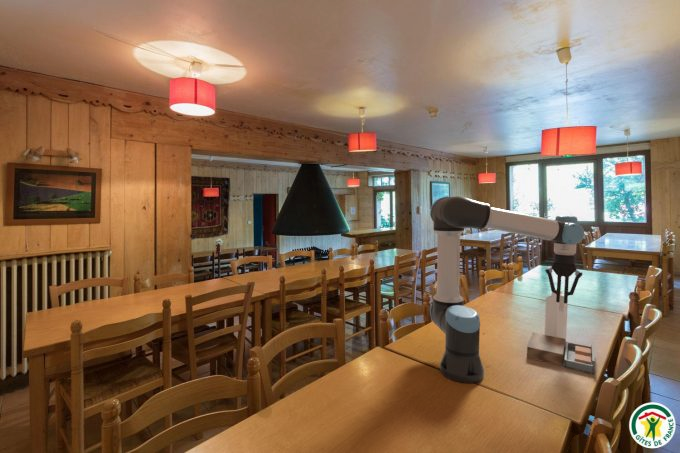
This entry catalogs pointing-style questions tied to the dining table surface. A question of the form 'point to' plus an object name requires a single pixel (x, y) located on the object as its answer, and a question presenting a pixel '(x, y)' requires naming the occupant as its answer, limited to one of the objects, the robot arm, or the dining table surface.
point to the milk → (555, 318)
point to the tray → (571, 364)
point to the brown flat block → (546, 348)
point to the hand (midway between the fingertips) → (561, 310)
